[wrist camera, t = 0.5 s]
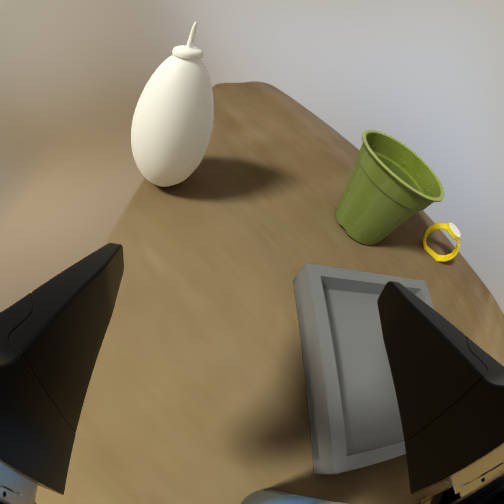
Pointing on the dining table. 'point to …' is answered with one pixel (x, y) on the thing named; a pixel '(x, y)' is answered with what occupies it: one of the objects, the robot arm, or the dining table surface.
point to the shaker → (282, 498)
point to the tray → (348, 367)
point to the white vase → (174, 117)
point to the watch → (452, 231)
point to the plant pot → (385, 189)
